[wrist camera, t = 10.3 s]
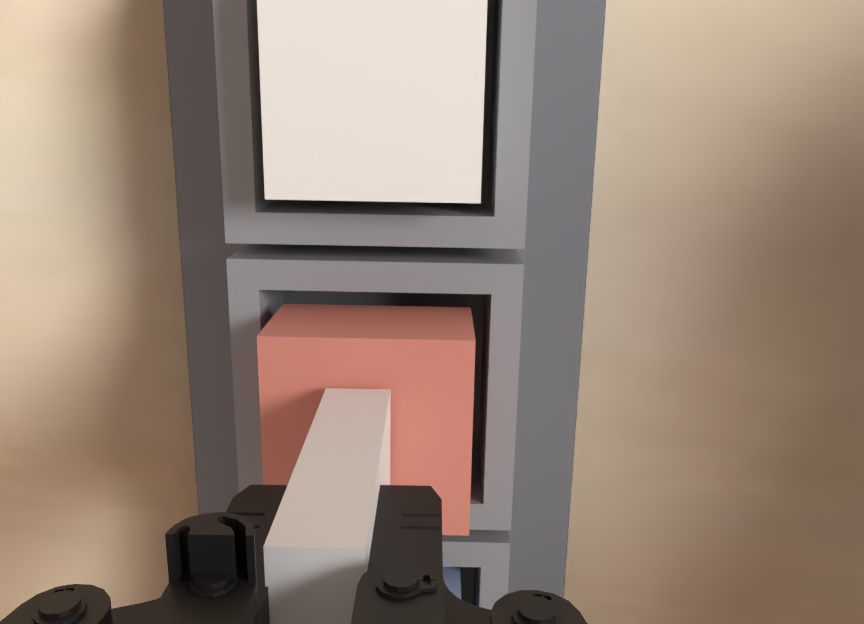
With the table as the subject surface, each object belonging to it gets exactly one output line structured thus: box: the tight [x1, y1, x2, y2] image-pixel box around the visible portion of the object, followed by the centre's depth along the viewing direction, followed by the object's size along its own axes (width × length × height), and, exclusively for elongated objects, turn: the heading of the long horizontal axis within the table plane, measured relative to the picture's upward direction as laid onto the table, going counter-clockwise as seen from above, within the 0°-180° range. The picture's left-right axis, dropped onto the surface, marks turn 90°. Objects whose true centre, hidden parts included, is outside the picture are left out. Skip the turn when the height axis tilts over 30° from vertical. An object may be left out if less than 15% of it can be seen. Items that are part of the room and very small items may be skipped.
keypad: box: [163, 0, 606, 610], centre depth 22 cm, size 26×12×4 cm, turn 179°
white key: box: [257, 0, 487, 203], centre depth 18 cm, size 5×5×3 cm
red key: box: [257, 304, 476, 536], centre depth 19 cm, size 5×5×3 cm
